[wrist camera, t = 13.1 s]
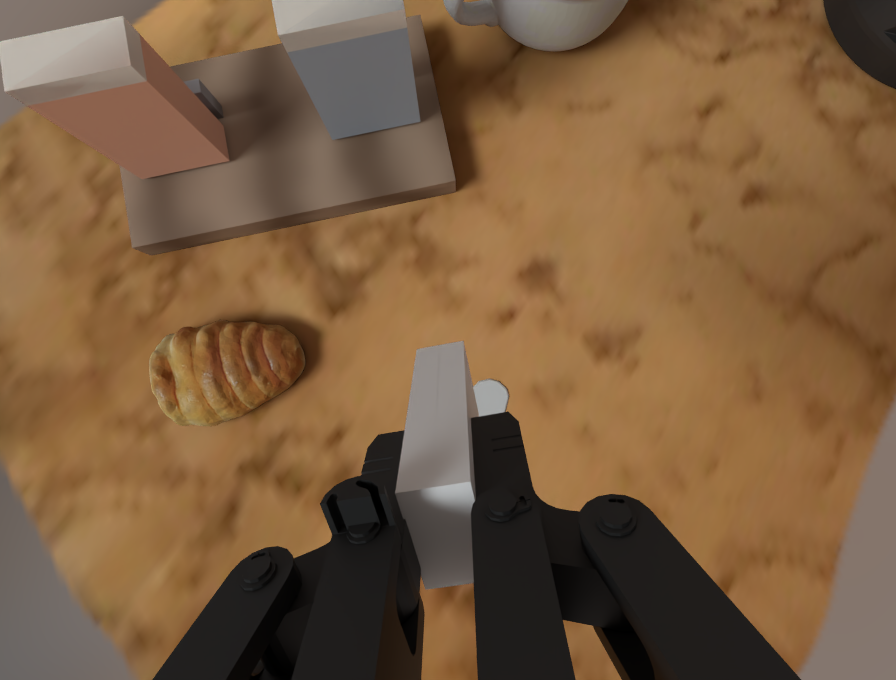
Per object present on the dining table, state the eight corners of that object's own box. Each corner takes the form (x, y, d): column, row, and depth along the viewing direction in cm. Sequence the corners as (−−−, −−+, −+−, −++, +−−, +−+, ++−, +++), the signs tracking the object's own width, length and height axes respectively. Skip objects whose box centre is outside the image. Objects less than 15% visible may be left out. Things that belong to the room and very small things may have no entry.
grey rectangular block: (413, 86, 33) (394, -40, 23) (420, 121, 33) (404, 9, 23) (325, 104, 33) (269, -14, 23) (332, 140, 33) (278, 35, 23)
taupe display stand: (422, 35, 36) (416, -21, 31) (455, 192, 35) (455, 160, 30) (125, 96, 36) (72, 50, 31) (150, 255, 35) (99, 234, 30)
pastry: (295, 304, 35) (276, 296, 31) (318, 398, 34) (301, 400, 30) (166, 339, 35) (130, 334, 31) (187, 433, 34) (153, 440, 30)
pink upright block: (223, 125, 33) (122, 15, 23) (229, 161, 33) (130, 65, 23) (136, 143, 33) (-3, 42, 23) (141, 179, 33) (4, 91, 23)
